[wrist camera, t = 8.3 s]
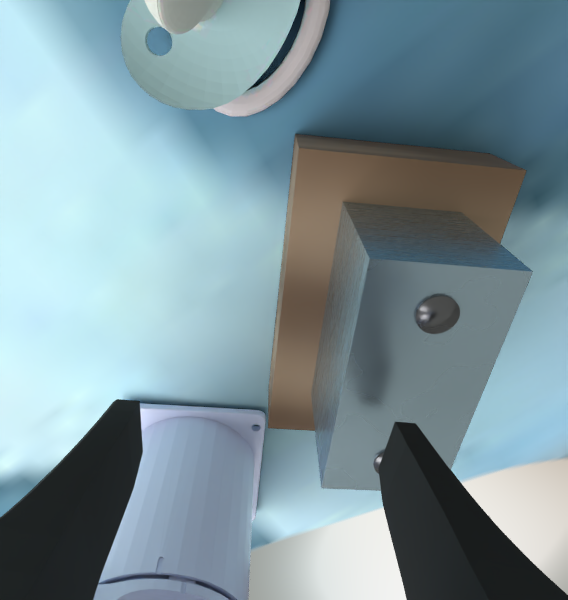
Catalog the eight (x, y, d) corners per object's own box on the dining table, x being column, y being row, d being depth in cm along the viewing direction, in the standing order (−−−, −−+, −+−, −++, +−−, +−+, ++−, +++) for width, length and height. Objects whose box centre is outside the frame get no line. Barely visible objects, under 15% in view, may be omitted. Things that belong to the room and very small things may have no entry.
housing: (461, 212, 16) (534, 273, 11) (404, 399, 20) (441, 495, 16) (342, 201, 16) (370, 260, 11) (311, 393, 20) (321, 490, 16)
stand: (412, 395, 24) (429, 436, 22) (268, 386, 24) (268, 428, 21) (489, 153, 18) (526, 170, 15) (295, 133, 17) (298, 148, 15)
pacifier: (366, -44, 15) (207, -177, 13) (428, -93, 9) (170, -333, 8) (259, 148, 18) (118, 62, 16) (260, 193, 12) (46, 70, 11)
